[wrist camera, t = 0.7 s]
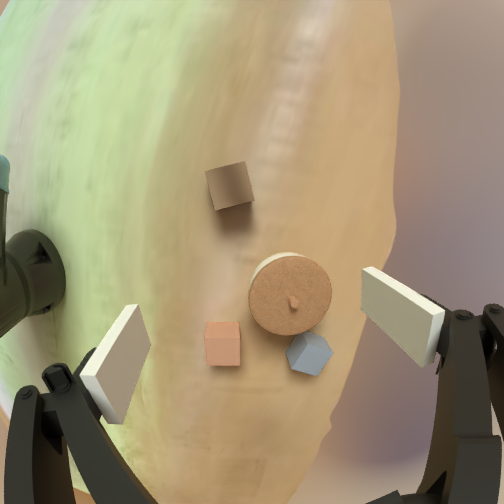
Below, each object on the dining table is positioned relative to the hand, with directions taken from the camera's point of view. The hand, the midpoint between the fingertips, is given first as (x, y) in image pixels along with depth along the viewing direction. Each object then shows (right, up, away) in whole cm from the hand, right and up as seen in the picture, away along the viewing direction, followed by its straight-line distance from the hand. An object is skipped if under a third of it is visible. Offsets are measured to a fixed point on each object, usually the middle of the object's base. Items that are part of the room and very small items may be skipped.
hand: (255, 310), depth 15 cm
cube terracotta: (-5, -10, +28) cm, 30 cm away
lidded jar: (+4, -1, +26) cm, 27 cm away
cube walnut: (-3, +12, +22) cm, 26 cm away
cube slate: (+9, -13, +29) cm, 33 cm away
